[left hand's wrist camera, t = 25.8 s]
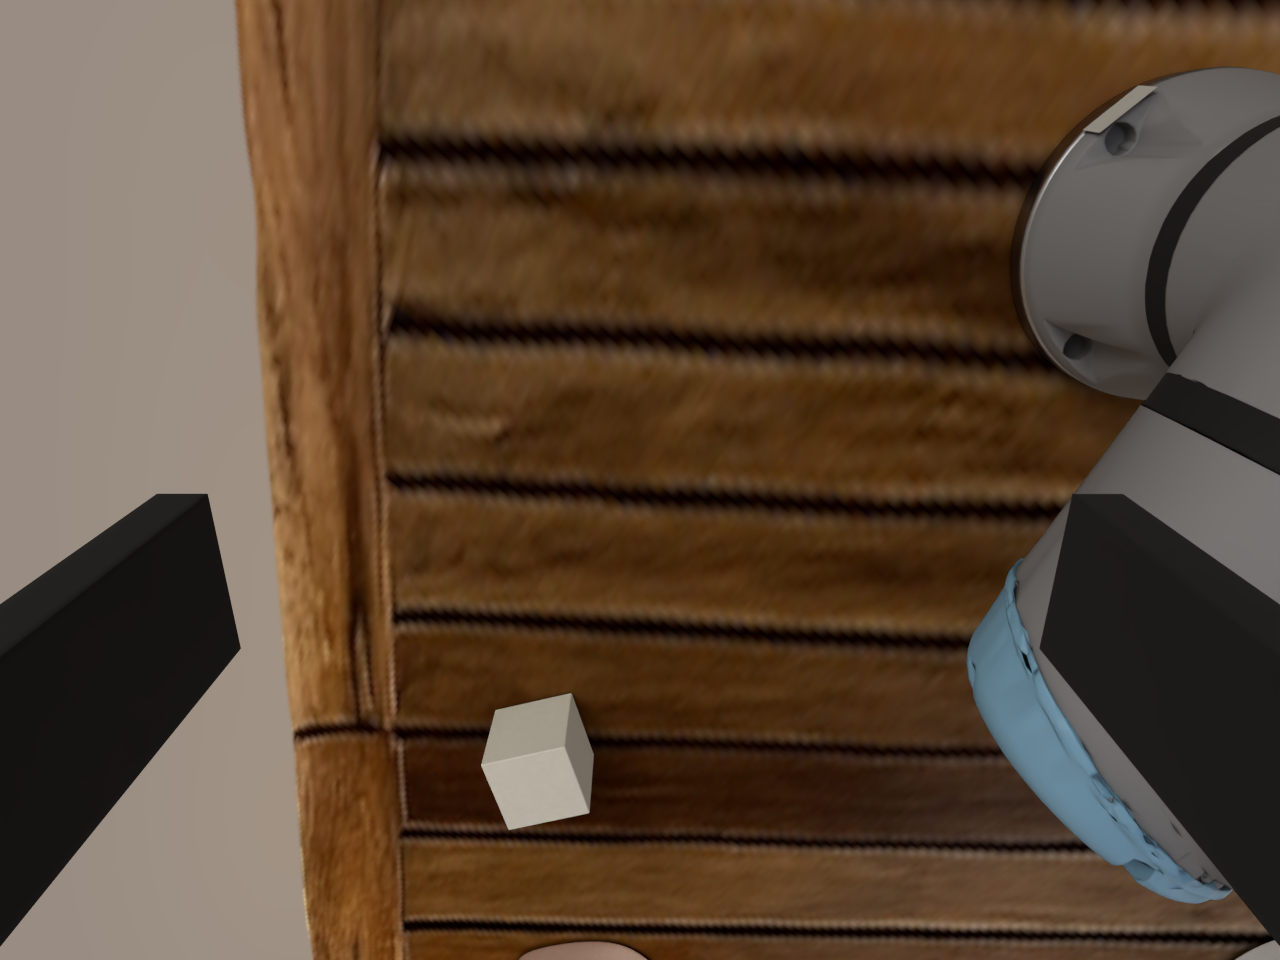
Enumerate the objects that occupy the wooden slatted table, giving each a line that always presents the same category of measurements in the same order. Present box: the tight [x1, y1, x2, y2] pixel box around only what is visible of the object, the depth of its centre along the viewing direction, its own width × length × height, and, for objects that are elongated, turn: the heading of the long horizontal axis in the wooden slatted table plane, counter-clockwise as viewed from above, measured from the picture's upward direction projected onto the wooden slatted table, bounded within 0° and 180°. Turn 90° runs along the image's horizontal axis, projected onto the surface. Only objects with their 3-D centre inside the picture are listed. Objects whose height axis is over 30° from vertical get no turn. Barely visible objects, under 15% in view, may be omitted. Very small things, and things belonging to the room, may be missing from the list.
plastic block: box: [481, 693, 594, 830], centre depth 49 cm, size 5×5×5 cm
